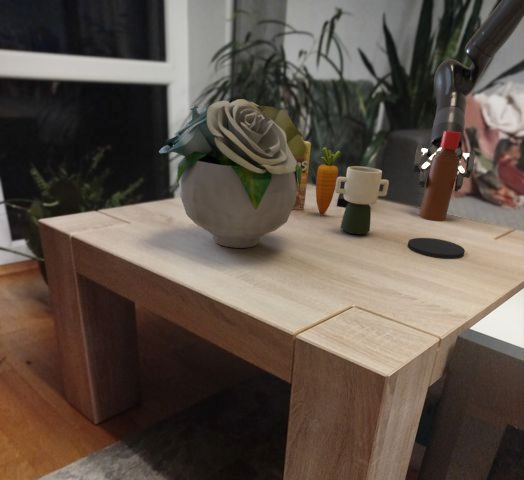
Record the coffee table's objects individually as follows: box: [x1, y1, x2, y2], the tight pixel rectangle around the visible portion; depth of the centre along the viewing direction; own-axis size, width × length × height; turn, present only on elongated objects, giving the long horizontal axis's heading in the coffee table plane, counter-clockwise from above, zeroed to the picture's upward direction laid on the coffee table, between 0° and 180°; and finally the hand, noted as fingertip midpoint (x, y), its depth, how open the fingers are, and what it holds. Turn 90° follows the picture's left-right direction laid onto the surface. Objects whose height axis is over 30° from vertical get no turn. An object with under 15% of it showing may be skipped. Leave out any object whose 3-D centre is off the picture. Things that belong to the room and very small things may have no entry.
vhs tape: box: [336, 187, 349, 208], centre depth 134 cm, size 8×14×2 cm, turn 169°
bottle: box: [418, 148, 461, 222], centre depth 121 cm, size 6×6×19 cm
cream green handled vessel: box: [334, 165, 390, 235], centre depth 104 cm, size 11×7×13 cm, turn 93°
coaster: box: [407, 237, 466, 259], centre depth 100 cm, size 11×11×1 cm
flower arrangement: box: [158, 98, 307, 249], centre depth 89 cm, size 25×25×24 cm
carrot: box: [315, 146, 342, 216], centre depth 115 cm, size 5×5×15 cm
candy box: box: [292, 140, 312, 211], centre depth 119 cm, size 9×4×15 cm, turn 100°
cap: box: [440, 131, 461, 150], centre depth 117 cm, size 4×4×4 cm
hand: (439, 187), depth 121 cm, fingers open, 7 cm apart
